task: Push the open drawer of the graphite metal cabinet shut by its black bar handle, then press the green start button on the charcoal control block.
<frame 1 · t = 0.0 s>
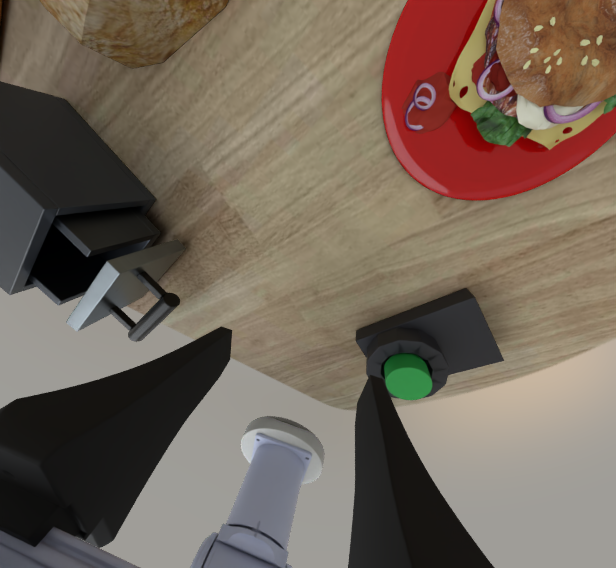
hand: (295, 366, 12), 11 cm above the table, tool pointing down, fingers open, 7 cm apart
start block: (421, 338, 22), on the table
cabinet: (92, 191, 23), on the table
start button: (406, 376, 19), point 4 cm above the table, slide at 0.1 cm
hamburger: (505, 73, 14), on the table
drawer: (110, 264, 21), point 4 cm above the table, slide at 4.0 cm
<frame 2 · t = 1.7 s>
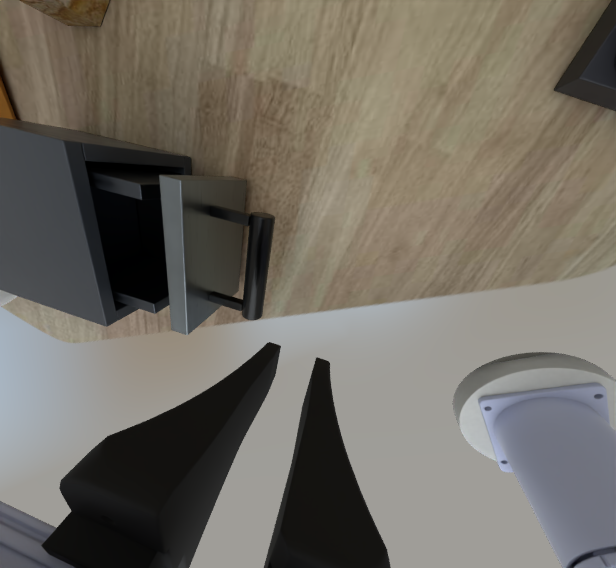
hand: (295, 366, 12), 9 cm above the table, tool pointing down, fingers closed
mug: (10, 251, 28), on the table
cabinet: (140, 210, 21), on the table
drawer: (182, 243, 16), point 4 cm above the table, slide at 4.0 cm
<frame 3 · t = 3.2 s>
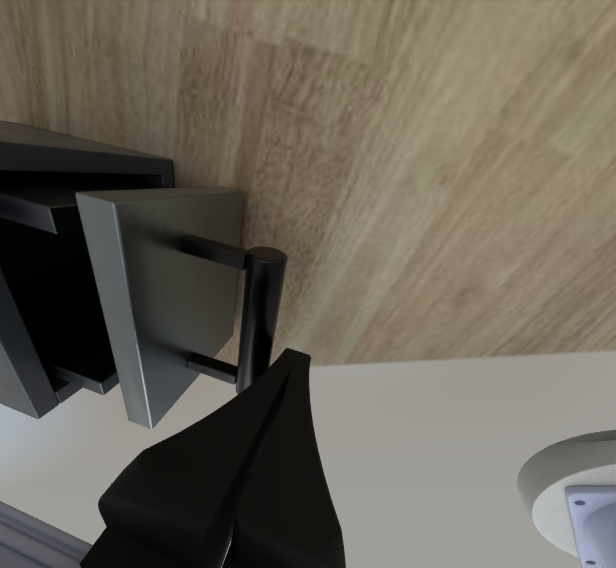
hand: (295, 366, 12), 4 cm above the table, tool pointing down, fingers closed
cabinet: (109, 229, 16), on the table
drawer: (149, 283, 11), point 4 cm above the table, slide at 3.5 cm, touching gripper
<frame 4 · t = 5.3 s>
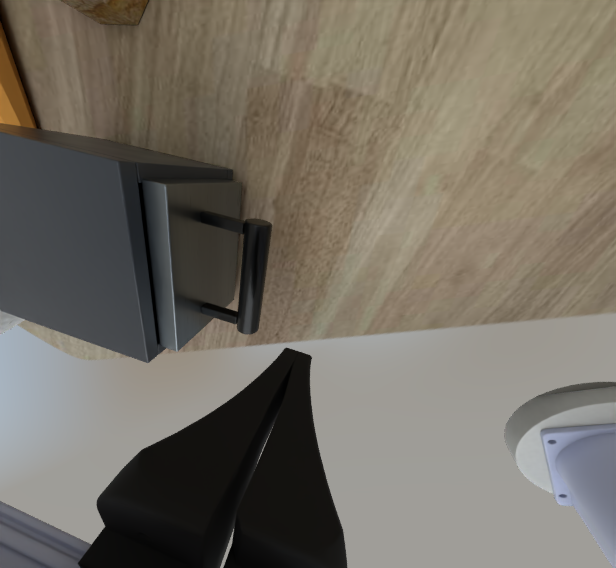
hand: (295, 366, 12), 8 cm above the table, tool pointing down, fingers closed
mug: (23, 265, 26), on the table
carrot: (12, 71, 17), on the table
cabinet: (171, 225, 19), on the table
drawer: (172, 250, 15), point 4 cm above the table, slide at 0.0 cm, touching cabinet
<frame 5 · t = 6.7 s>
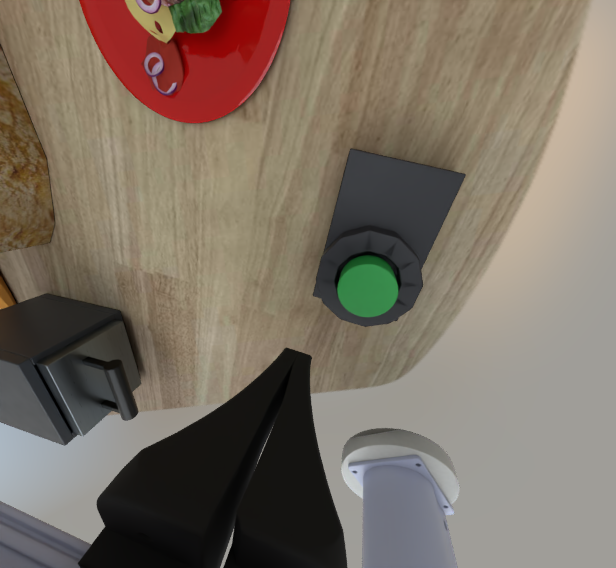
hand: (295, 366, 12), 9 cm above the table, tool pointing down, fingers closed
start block: (375, 239, 17), on the table
cabinet: (95, 338, 29), on the table
start button: (366, 286, 14), point 4 cm above the table, slide at 0.1 cm
drawer: (82, 370, 25), point 4 cm above the table, slide at 0.0 cm, touching cabinet
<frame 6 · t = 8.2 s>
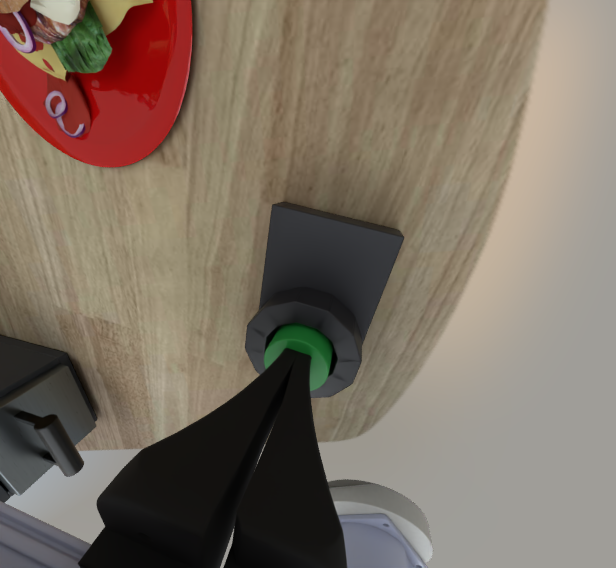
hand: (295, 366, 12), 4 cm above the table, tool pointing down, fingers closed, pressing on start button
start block: (319, 294, 15), on the table
cabinet: (47, 378, 27), on the table
start button: (299, 355, 12), point 4 cm above the table, slide at -0.3 cm, touching gripper
hamburger: (74, 11, 12), on the table
drawer: (22, 420, 23), point 4 cm above the table, slide at 0.0 cm, touching cabinet
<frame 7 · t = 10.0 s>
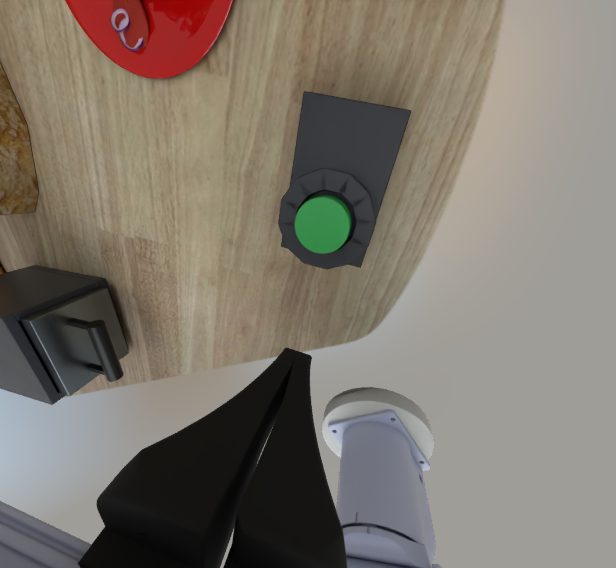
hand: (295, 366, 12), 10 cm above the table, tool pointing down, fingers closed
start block: (338, 188, 17), on the table
cabinet: (83, 309, 30), on the table
start button: (323, 224, 15), point 4 cm above the table, slide at 0.1 cm
drawer: (68, 335, 25), point 4 cm above the table, slide at 0.0 cm, touching cabinet
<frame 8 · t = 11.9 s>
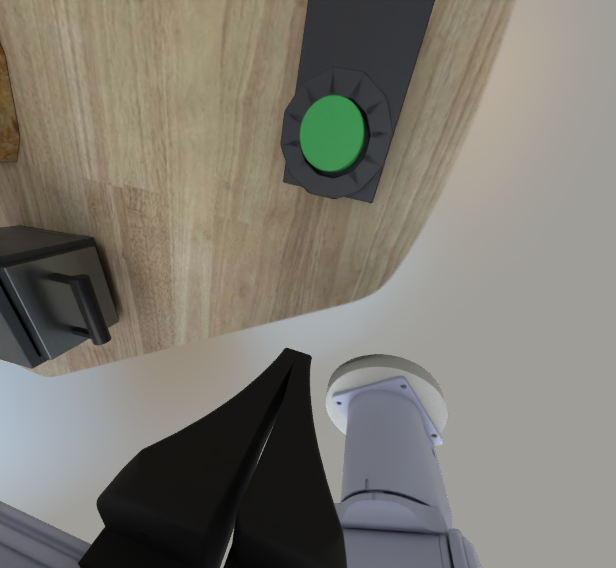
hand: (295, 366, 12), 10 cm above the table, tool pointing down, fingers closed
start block: (347, 113, 15), on the table
cabinet: (71, 274, 28), on the table
start button: (332, 137, 13), point 4 cm above the table, slide at 0.1 cm
drawer: (52, 295, 23), point 4 cm above the table, slide at 0.0 cm, touching cabinet
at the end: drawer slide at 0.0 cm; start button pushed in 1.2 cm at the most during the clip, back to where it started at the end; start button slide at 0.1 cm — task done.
